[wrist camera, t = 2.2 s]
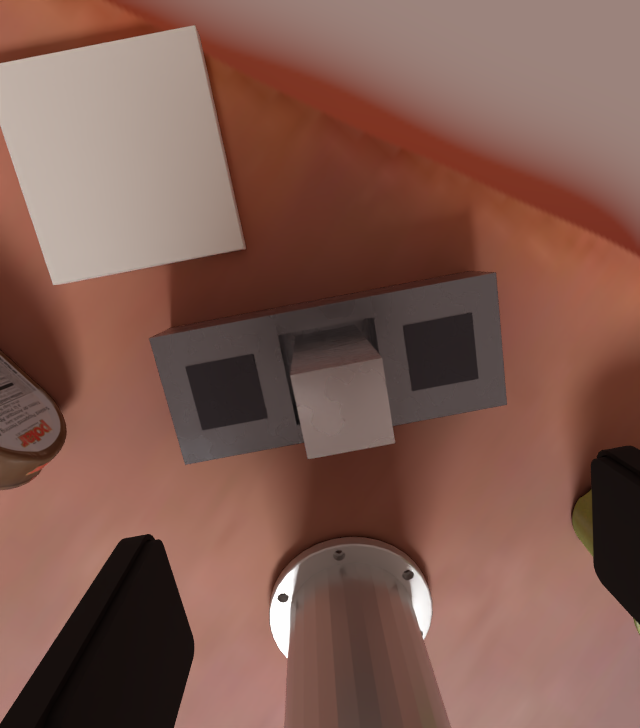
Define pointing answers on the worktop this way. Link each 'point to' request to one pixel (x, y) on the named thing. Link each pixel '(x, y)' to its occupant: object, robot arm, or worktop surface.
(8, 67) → the pad
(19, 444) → the tin
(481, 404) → the grey compartment holder
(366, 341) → the steel block
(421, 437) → the worktop surface
